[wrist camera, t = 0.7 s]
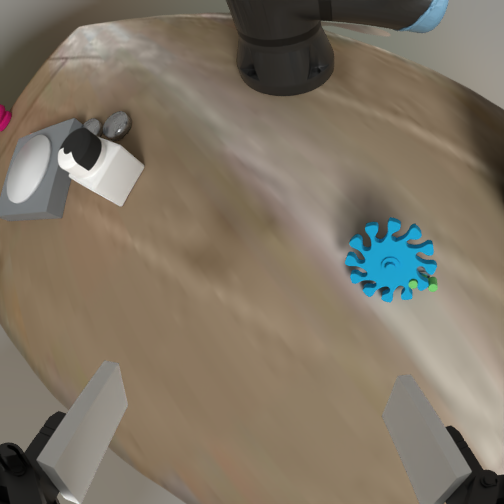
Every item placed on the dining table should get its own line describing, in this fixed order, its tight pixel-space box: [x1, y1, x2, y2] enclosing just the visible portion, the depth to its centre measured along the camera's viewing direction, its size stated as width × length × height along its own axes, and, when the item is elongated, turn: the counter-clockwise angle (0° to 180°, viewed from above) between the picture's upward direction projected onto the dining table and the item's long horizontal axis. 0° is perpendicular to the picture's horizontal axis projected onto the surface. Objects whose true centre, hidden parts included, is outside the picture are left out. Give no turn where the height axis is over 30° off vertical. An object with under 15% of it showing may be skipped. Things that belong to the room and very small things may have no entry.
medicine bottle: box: [58, 128, 145, 206], centre depth 37 cm, size 7×7×12 cm
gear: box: [345, 217, 437, 302], centre depth 31 cm, size 11×6×10 cm
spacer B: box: [81, 118, 103, 137], centre depth 46 cm, size 5×5×2 cm
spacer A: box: [103, 111, 132, 141], centre depth 45 cm, size 5×5×2 cm
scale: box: [0, 118, 83, 221], centre depth 46 cm, size 18×20×5 cm
